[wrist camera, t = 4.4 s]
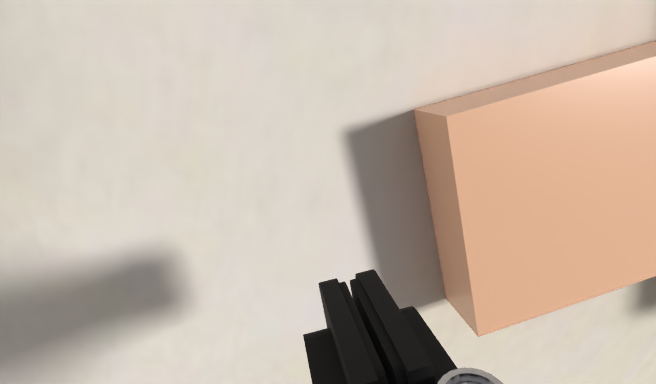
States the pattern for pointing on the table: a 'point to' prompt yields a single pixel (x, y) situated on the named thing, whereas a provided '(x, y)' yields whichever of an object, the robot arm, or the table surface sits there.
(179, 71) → the table surface
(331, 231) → the table surface
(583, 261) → the peach tile
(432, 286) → the table surface
